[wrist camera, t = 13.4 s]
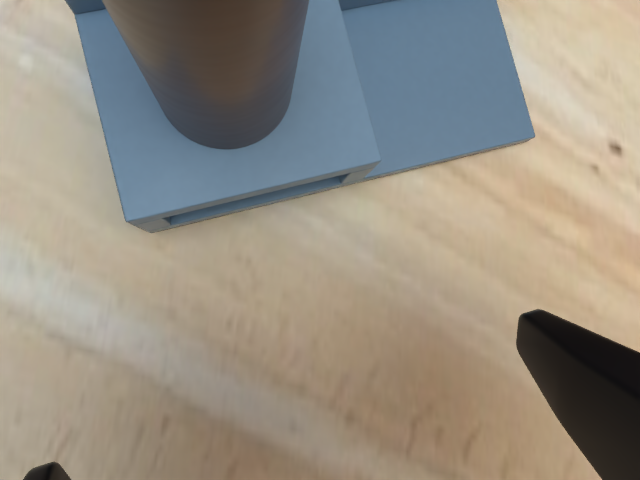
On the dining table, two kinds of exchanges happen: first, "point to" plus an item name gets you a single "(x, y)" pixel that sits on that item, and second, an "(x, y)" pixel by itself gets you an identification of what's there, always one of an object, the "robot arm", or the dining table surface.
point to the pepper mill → (216, 62)
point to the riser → (318, 108)
